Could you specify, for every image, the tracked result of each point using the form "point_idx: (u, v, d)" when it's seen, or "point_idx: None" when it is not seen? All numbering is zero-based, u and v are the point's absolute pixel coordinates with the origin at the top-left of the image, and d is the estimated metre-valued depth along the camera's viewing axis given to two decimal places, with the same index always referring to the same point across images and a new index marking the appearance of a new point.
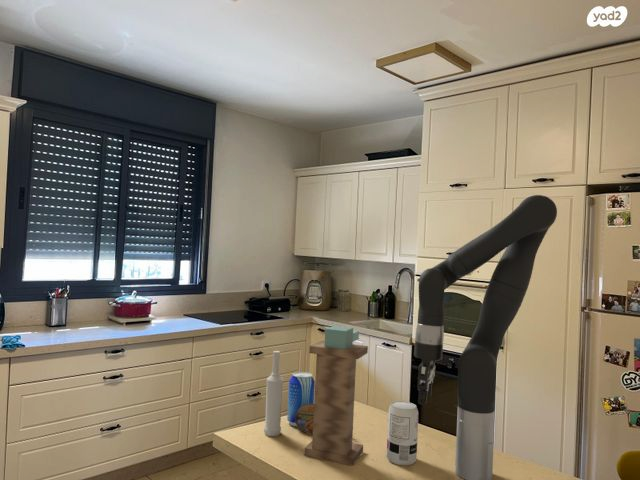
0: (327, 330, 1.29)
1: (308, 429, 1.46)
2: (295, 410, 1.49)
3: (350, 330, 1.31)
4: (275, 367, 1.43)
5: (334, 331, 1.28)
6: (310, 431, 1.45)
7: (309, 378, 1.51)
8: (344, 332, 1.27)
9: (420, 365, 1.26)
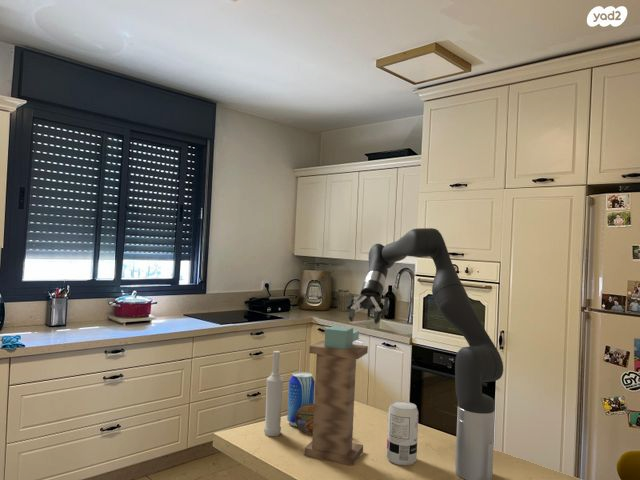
0: (327, 330, 1.29)
1: (308, 429, 1.46)
2: (295, 410, 1.49)
3: (350, 330, 1.31)
4: (275, 367, 1.43)
5: (334, 331, 1.28)
6: (310, 431, 1.45)
7: (309, 378, 1.51)
8: (344, 332, 1.27)
9: None
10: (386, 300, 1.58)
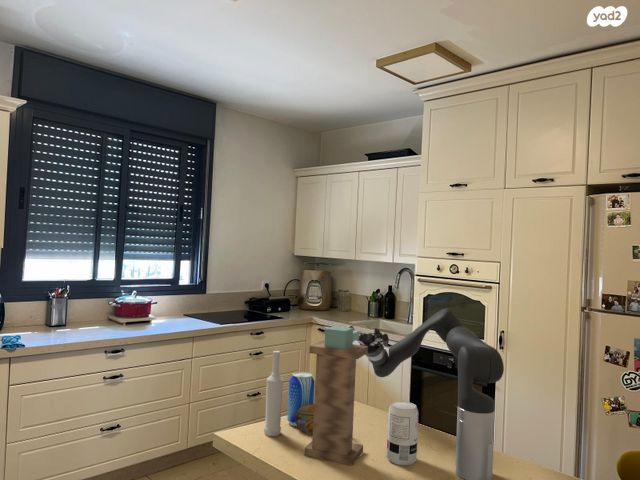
0: (327, 330, 1.29)
1: (308, 429, 1.46)
2: (295, 410, 1.49)
3: (350, 330, 1.31)
4: (275, 367, 1.43)
5: (334, 331, 1.28)
6: (310, 431, 1.45)
7: (309, 378, 1.51)
8: (344, 332, 1.27)
9: None
10: None
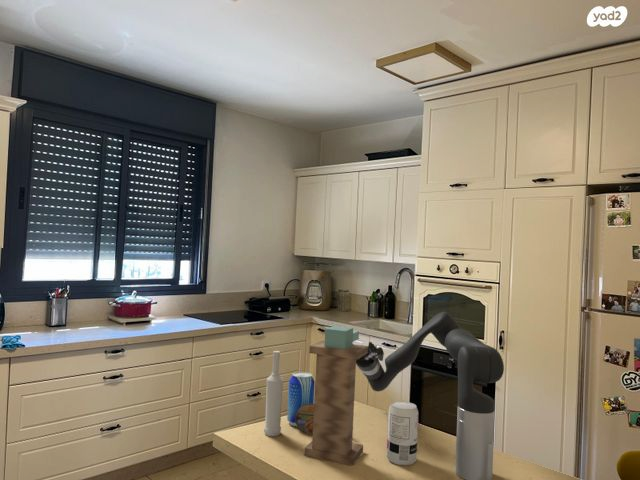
0: (327, 330, 1.29)
1: (308, 429, 1.46)
2: (295, 410, 1.49)
3: (350, 330, 1.31)
4: (275, 367, 1.43)
5: (334, 331, 1.28)
6: (310, 431, 1.45)
7: (309, 378, 1.51)
8: (344, 332, 1.27)
9: None
10: None
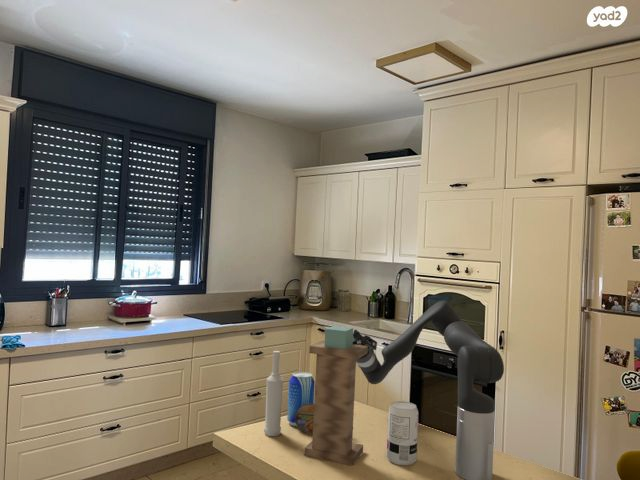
0: (327, 330, 1.29)
1: (308, 429, 1.46)
2: (295, 410, 1.49)
3: (350, 330, 1.31)
4: (275, 367, 1.43)
5: (334, 331, 1.28)
6: (310, 431, 1.45)
7: (309, 378, 1.51)
8: (344, 332, 1.27)
9: None
10: None
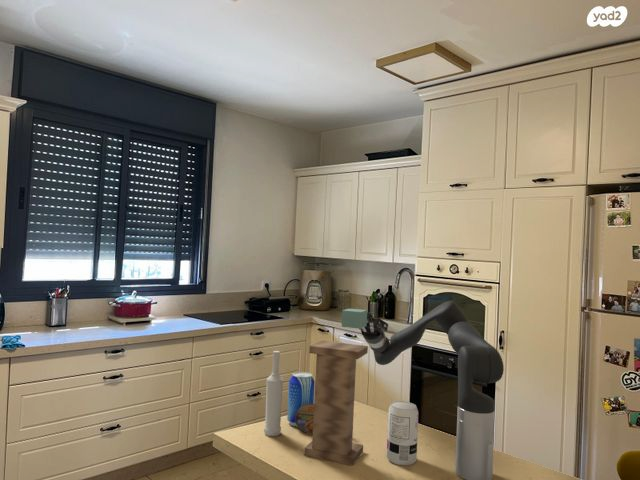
0: (344, 311, 1.43)
1: (308, 429, 1.46)
2: (295, 410, 1.49)
3: (364, 312, 1.45)
4: (275, 367, 1.43)
5: (350, 312, 1.42)
6: (310, 431, 1.45)
7: (309, 378, 1.51)
8: (359, 313, 1.41)
9: (364, 330, 1.62)
10: None
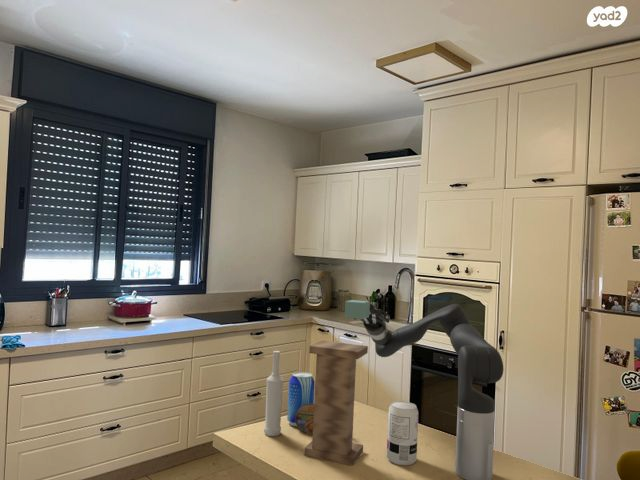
0: (347, 302, 1.45)
1: (308, 429, 1.46)
2: (295, 410, 1.49)
3: (367, 303, 1.47)
4: (275, 367, 1.43)
5: (353, 303, 1.44)
6: (310, 431, 1.45)
7: (309, 378, 1.51)
8: (362, 304, 1.43)
9: None
10: None
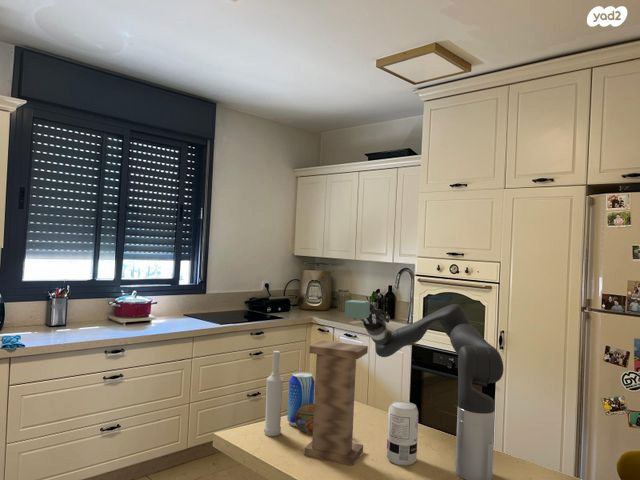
0: (347, 302, 1.45)
1: (308, 429, 1.46)
2: (295, 410, 1.49)
3: (367, 303, 1.47)
4: (275, 367, 1.43)
5: (353, 303, 1.44)
6: (310, 431, 1.45)
7: (309, 378, 1.51)
8: (362, 304, 1.43)
9: None
10: None
